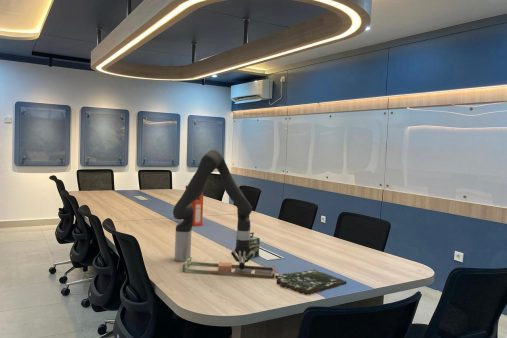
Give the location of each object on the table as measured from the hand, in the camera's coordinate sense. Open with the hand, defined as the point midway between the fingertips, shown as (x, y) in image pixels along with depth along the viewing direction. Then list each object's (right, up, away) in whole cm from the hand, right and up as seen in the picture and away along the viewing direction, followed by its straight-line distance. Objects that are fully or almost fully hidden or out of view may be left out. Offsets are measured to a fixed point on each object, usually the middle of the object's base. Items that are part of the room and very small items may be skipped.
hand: (241, 269), depth 217 cm
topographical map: (+34, -5, -11) cm, 36 cm away
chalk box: (+4, 0, +33) cm, 33 cm away
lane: (-7, -1, 0) cm, 7 cm away
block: (-9, -1, 0) cm, 9 cm away
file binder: (-45, +8, +119) cm, 128 cm away
